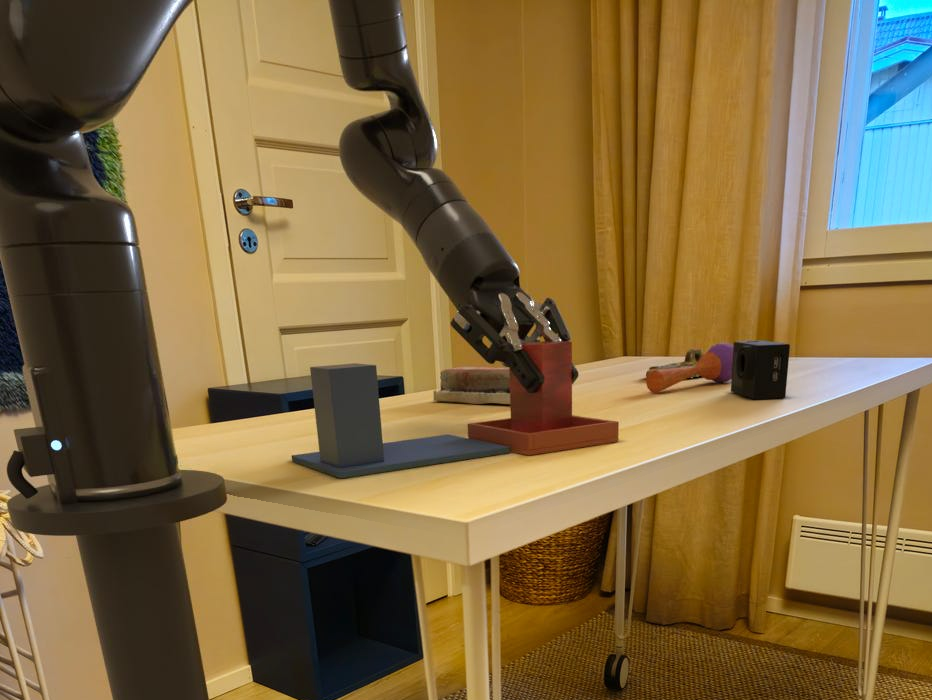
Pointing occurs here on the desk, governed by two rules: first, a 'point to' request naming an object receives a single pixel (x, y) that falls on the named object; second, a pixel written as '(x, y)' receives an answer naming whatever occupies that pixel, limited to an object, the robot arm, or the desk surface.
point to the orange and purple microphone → (696, 369)
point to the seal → (690, 361)
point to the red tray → (546, 435)
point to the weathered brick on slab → (474, 385)
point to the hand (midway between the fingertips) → (555, 384)
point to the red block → (544, 390)
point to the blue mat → (410, 455)
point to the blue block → (347, 414)
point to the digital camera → (760, 369)
